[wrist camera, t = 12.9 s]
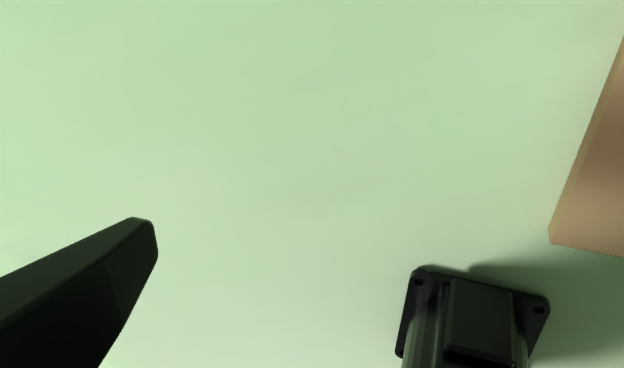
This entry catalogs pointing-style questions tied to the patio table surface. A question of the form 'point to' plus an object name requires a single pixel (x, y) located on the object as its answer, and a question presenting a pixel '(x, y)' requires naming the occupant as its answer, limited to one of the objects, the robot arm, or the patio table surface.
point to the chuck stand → (597, 178)
